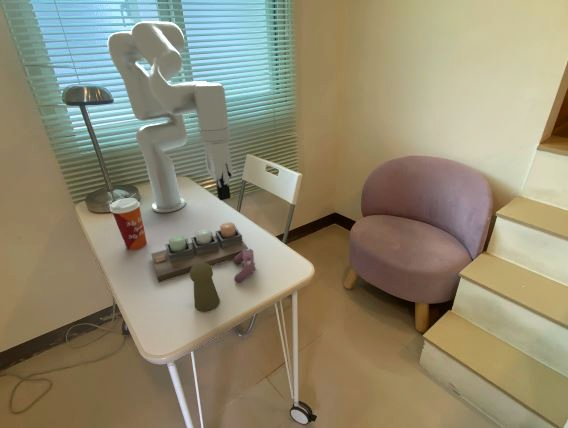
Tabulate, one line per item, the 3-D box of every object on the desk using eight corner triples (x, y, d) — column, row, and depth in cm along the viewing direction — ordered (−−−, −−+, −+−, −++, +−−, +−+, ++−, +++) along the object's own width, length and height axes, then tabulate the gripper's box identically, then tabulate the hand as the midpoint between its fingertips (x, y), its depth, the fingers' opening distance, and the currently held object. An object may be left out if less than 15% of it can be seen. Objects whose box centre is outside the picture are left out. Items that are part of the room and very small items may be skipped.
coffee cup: (140, 253, 97) (127, 209, 90) (117, 251, 98) (102, 208, 91) (155, 238, 104) (144, 197, 97) (133, 236, 105) (121, 195, 98)
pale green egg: (169, 246, 92) (167, 238, 91) (184, 242, 94) (183, 234, 92) (172, 254, 88) (170, 245, 87) (188, 249, 90) (186, 241, 89)
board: (152, 259, 94) (149, 246, 91) (235, 235, 104) (234, 224, 102) (158, 282, 84) (154, 269, 82) (249, 254, 94) (247, 241, 92)
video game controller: (249, 287, 84) (259, 266, 81) (233, 283, 82) (242, 262, 80) (246, 264, 92) (256, 245, 90) (232, 260, 91) (241, 241, 88)
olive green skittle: (218, 311, 74) (212, 274, 69) (192, 313, 74) (184, 276, 69) (220, 293, 80) (215, 258, 74) (196, 295, 79) (189, 259, 74)
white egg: (195, 239, 95) (193, 231, 93) (209, 235, 97) (208, 227, 95) (198, 246, 91) (197, 238, 90) (213, 242, 93) (212, 234, 92)
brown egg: (219, 233, 98) (218, 224, 96) (232, 229, 100) (231, 221, 98) (223, 239, 94) (222, 231, 93) (237, 236, 96) (236, 227, 95)
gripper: (194, 131, 87) (205, 192, 95) (208, 142, 75) (219, 211, 83) (220, 127, 90) (228, 187, 98) (238, 138, 78) (246, 204, 86)
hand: (224, 198), depth 91 cm, fingers closed
